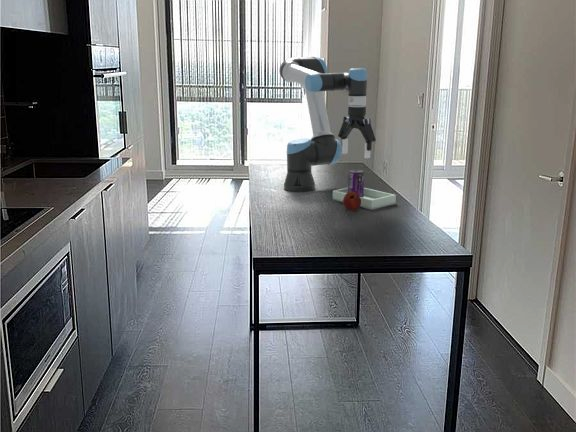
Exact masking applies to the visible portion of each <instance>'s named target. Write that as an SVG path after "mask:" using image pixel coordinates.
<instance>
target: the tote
mask: <svg viewBox="0 0 576 432" xmlns="http://www.w3.org/2000/svg"><path fill="white" fill-rule="evenodd" d="M347 193H348V187H344V188H340V189H339V188H338V189H335V190H332V200H333V201H337V202H341V203H343V199H344V196H345V195H346V194H347ZM396 197H397V194H393V193H389V192H385V191H380V190H376V189H373V188H372V189H371V188H366V187H364V197H360V198H361V205H360V207H359V208H364V209H366V210H371V211H373V210H377V209H382V208H385V207H388V206H389V207H390V206H393V205H396V201H397V200H396Z"/></svg>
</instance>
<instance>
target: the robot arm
mask: <svg viewBox="0 0 576 432" xmlns="http://www.w3.org/2000/svg"><path fill="white" fill-rule="evenodd" d="M367 72H368V70H367V69H366V68H361V67H359V68H356V67H355V68H349V70H348V72H331V73H328V66H327V63H326V62H325V60H324V59H323V58H322V57H315V56H308V57H307V56H304V57H295V56H294V57H293V56H292V57H289V58H286V59H285V60H284V61H282V63H281V64H280V66H279V75H280V77H281V79H282V80H284V81H285V82H288V83H296V84H299V85H301V88H302V89H303V90H304V91H305V96H306V102H307V107H308V112H309V113H308V114H309V119H310V123H311V124H310V125H311V130H312V137H311V138H297V139H294V140H290V141H289V142H288V143H287V145H286V163H287V164H286V165H287V166H286V167H287V169H286V170H287V171H286V176H285V180H284V183H283V189H284V190H285V191H288V192H309V191H313V190H315V189H316V182H315V179H314V175H313V174H312V172H313V171H312V167H314V166H326V165H327V166H330V165H334V164H337V163H338V162H339V161H340V159H341V156H342V155H347V154H348V153H349V139H348V137H349V135H350V133H351V132H352V131H353V129H356V130H357V129H358V130H359V131H360V134H361V135H362V137H363V138H364V140H365V141H364V157H363V158H364V159H371V151H372V143H374V142H376V139H377V138H376V136H375V133H374V131H373V127H372V121H371V118H365V116H366V114H367V108H366V106H367V86H368V83H367V82H368V73H367ZM342 91H347V92H348V96H347V97H348V101H347V102H348V103H347V104H348V107H347V115H348V116H344V117H343V122H342V124H341V126H340V130H339V131H338V134H337V137H338V138H340V140H341V142H340V140H339V139H337V138H336V137H335V134H334V133H332V132H331V127H330V121H329V116H328V111H327V110H328V109H327V106H326V99H325V93H324V92H342Z"/></svg>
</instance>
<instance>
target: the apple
mask: <svg viewBox="0 0 576 432" xmlns="http://www.w3.org/2000/svg"><path fill="white" fill-rule="evenodd" d="M360 205H361V198H360V196H359V195H358V194H357V193H356V192H348V193H347V194H346V195H345V196H344V199H343V202H342V206H343V208H344V209H345V210H347V211H348V212H349V211H350V212H353V211H357V210H358V209H359V208H361V207H360Z"/></svg>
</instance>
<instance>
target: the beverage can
mask: <svg viewBox="0 0 576 432" xmlns="http://www.w3.org/2000/svg"><path fill="white" fill-rule="evenodd" d="M347 188H348V192H356V193H357V194H358V195H359V196H360V197H364V188H365V173H364V170H362V169H350V170H348V174H347Z"/></svg>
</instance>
